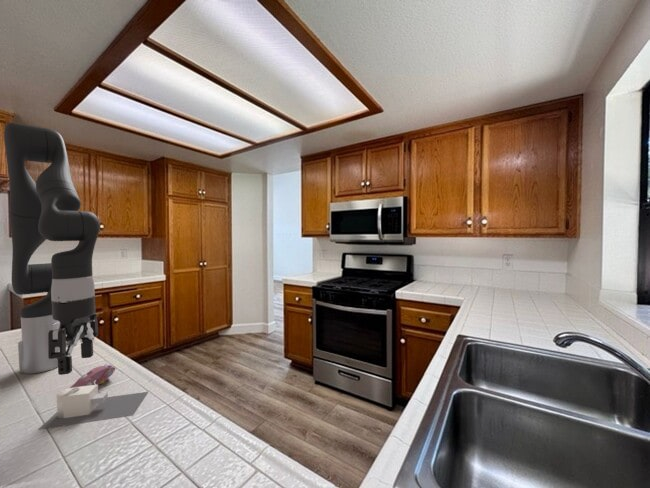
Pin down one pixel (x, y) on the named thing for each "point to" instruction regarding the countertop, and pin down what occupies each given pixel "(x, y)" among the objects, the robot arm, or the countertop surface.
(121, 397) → the rubber mat
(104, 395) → the plug block
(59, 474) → the countertop surface
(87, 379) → the video game controller
